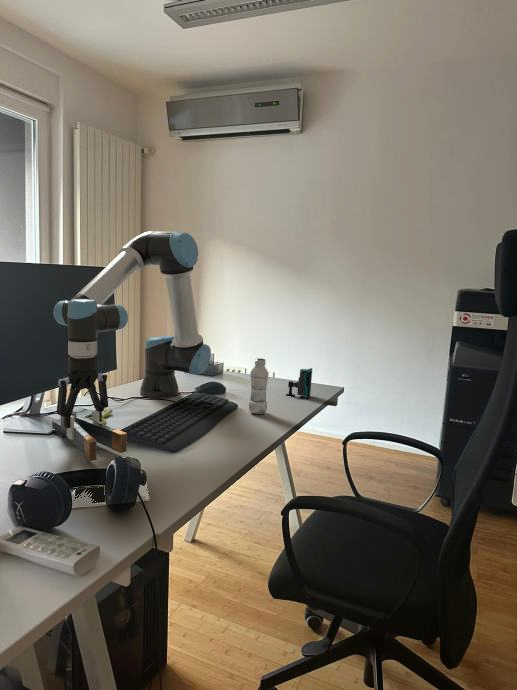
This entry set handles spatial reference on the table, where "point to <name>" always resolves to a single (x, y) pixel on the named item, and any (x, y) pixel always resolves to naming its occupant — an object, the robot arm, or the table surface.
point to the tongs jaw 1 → (84, 442)
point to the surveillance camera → (302, 383)
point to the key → (103, 416)
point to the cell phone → (99, 493)
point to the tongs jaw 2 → (104, 434)
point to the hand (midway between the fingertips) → (83, 435)
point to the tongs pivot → (61, 425)
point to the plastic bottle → (258, 387)
